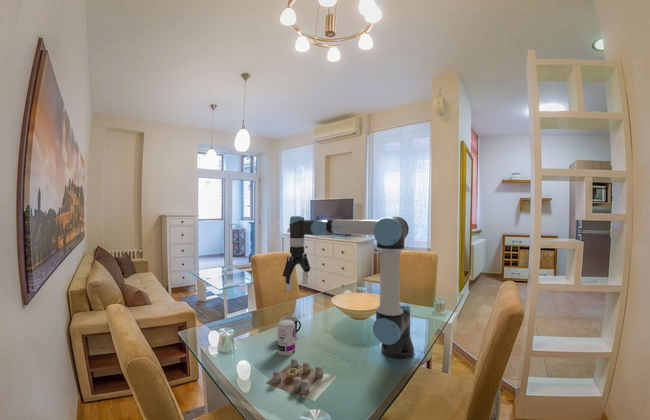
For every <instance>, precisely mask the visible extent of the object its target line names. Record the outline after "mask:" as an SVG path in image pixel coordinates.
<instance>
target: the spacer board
mask: <svg viewBox="0 0 650 420" xmlns="http://www.w3.org/2000/svg"><path fill="white" fill-rule="evenodd" d="M290 368H297V369H298V371H299V377H295V378H294V379H293V381H289V380H288V379H287V378H286V371H288V370H289V369H290ZM336 378H337V376H335V375H332V374H329V373H327V372H324V366H323V365H322V364H317V365H315V369H313V368H311V362H310V361H308V360H305V361H303V362H302V365H300V364H299V358H298V357H291V358H290V363H289V364H288V365H287V366H286V367H284V368H283V369H281V370H280V369H275V370H273V373H272V377H271V378H270V379H269V380H268V381H267V382H266V384H267V385H270V386H272V387H275V388H278V389H279V390H283V391H285V392H289V393H291V394H293V395H296V396H299V397H302V398H305V399H306V400H310V401H311V402H316V401H317V400H318V399H319V398H320V396H322V394H323V393H324V392H325V391H326V389H328V387H329V386H330V385H331V384H332V383H333V382H334V381H335V379H336Z"/></svg>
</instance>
